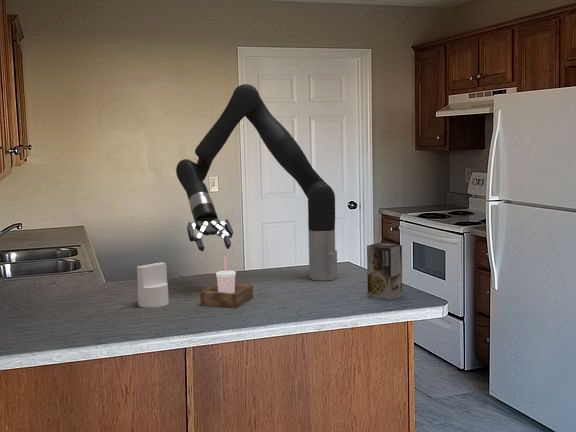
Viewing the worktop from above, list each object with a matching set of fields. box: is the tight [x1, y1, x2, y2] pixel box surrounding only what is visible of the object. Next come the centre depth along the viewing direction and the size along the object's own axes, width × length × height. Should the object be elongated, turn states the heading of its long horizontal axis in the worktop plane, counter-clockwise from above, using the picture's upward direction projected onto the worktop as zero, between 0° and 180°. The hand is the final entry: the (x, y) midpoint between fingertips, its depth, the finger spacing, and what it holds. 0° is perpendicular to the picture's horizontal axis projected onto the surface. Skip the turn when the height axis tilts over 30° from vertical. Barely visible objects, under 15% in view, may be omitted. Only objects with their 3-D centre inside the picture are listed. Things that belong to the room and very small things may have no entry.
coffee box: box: [366, 242, 403, 301], centre depth 202 cm, size 9×6×16 cm
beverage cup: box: [215, 255, 237, 293], centre depth 201 cm, size 6×6×14 cm
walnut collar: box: [199, 283, 254, 309], centre depth 201 cm, size 12×12×4 cm
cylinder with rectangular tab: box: [136, 261, 169, 308], centre depth 200 cm, size 9×9×12 cm
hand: (215, 248), depth 207 cm, fingers open, 8 cm apart
